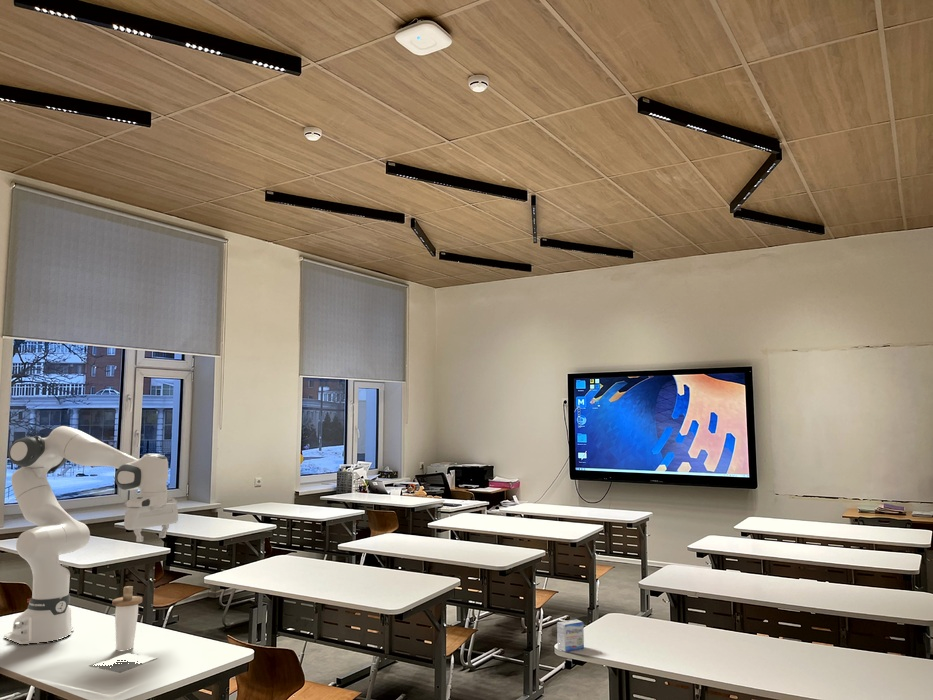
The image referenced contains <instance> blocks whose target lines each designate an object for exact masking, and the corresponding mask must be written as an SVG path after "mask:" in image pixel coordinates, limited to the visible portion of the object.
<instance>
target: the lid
mask: <svg viewBox="0 0 933 700" xmlns="http://www.w3.org/2000/svg"><path fill="white" fill-rule="evenodd" d="M133 589H134V586H132V585H128V586H124V587H123V593H122V596H121V597H117V598H114V599H112V603H111V605H112V606H114V607H116V606H117V607H124V606H133V605H137V604H138V605H139V604H141V603H143V597H142V596H139V595H138V596H137V595H133V591H134V590H133Z"/></svg>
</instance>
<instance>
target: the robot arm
mask: <svg viewBox="0 0 933 700" xmlns="http://www.w3.org/2000/svg"><path fill="white" fill-rule="evenodd" d="M8 458H9V460H10V462H11V463H12V464H13V465H16V466H19V468H18V469H17V470H15V471H14V472H13V474H12V475H11V481H10V482H11V486H12V491H13V494H14V497H15V499H16V501H17V504H18V506H19V509H20V511H21V514H22V515H23V518H24V520H26V521H27V522H29V523H31V524H34V525H36V527H34V528H30V529H27V530H25V531H23V532H22V533H20V535H18V537H17V539H16V543H15V544H16V545H15V547H16V551H17V554H18V555H19V556H20V557H21V558H22V559H24V560H25V561H26V562H27V563H28V565H29V568H30V569H31V572H32V573H31V574H32V595H31V598H27V602H26V603H28V605H27V609H26V610H24V611H23V612H22V613H21V614H20V615H18V616H17V617H16V618H15V619H14V620H13V625H12V631H10V632H8V633H6V634H4V635H3V638H4V637H6V638H8V639H11V640H13V641H15V642H17V643H19V644H28V645H30V644H29V643H37V644H40V643H39V642H47V643H49V642H48V641H52V640H57V639H59V638H62V637H65V636H67V635H69V634H70V633H71V634H72V632H71V630H72V629H73V628H74V626H73V627H72V609H71V607H70V606H69V605H70V603H71V602H70V601H71V593H69V592H70V577H71V573H70V570H69V569H68V568H66V567H65V566H62V565H61V563H60V559H59V556H60V555H65V554H69V553H70V554H71V553H73V552H76V551H79V550H81V549H82V548H85V547H86V546H87V545H88V543H89V541H90V537H91V532H90V529H89V527H88V526H87V525H86V524H85V523H84V522H82V521H79V520H77V519H76V518H73V516H71V515H70V514H69V513H67V511H66V510H65V509H64V508H63V507H62V506H61V505H60V503H59V501H58V500H57V497H56V495H55V493H54V492H53V489H52V487H51V485H50V483H49V481H48V476H47V474H53V473H56V471H57V470H58V469H59V468H61V467H62V466H64V464H66V462H67V461H69V462H71V463H72V464H75V465H79V466H83V467H109V468H114V469H116V471H115V474H114V475H115V476H114V478H115V479H114V480H115V481H114V482H115V484H116V485H117V487H118V488H119V489H120V490H125V491H134V490H135V491H136V490H139V494H138V495H137V496H135V497H132V498H130V499H129V500H127V501H126V507H128V508H126V510H125V512H124V521H123V522H124V524H123V525H124V528H125V530H128V531H133V533H134V535H135V537H136V540H135V541H136V542H137V543H141V542H144V536H143V535H142V533H141V532H142V529H147V528H151V527H152V528H153V527H160V526H161V531H160V532H158V538H159V539H164V538H166V535H167V532H168V530H169V528H170V525H172V524H176V523H178V520H179V514H178V513H179V510H178V500H176V498H174V497H168V486H167V484H168V483H167V482H168V481H169V461H168V458H167V457H166V456H165V455H163V454H160V453H153V452H152V453H149V452H148V453H145V454H144V455H142V456H141V458H140V457H139V458H138V457H136V456H134V455H131V454H129V453H126V452H124V451H122V450H120V449H117V448H115V447H113V446H112V445H109V444H107V443H105V442H103V441H101V440H99V439H98V438H96V437H94V436H92V435H90V434H88V433H86V432H84V431H83V430H80V429H77V428H75V427H70V426H66V425H61V426H58V427H56V428H54V429H52V430H51V432H50V433H49V434H48V436H45V437H41V436H40V435H35V436H27V437H21V438H18V439H16V440H15V441H13V443H12V444H11V445H10V447H9V449H8ZM57 641H58V640H57ZM17 643H16V644H17ZM19 644H18V645H19Z"/></svg>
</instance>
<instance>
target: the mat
mask: <svg viewBox="0 0 933 700" xmlns="http://www.w3.org/2000/svg"><path fill="white" fill-rule="evenodd" d="M117 661H120V660H117ZM121 661H123V660H121ZM124 661H126V660H124ZM137 662H138V661H137ZM96 663H97V662H96ZM96 663H92V664H89V665H88V667H92V668H97V667H99V668H97V669H102V670H105V669H106V670H105V671H111V672H115V673H123V672H126V671H128V670H131V669H135V668H136V667H139V666H142V665H143V664H142V663H140V664H138V663H136V664H135V662H128V661H127V662H116V663H117V664H115V663H114V664H113V666H112V665H110V666H109V665H108V666H106V665H105V666H103V665H102V666H100V665H99V666H98V665H97V666H95V665H94V664H96ZM118 663H120V664H118ZM121 663H122V664H121ZM128 663H129V664H128ZM103 664H104V663H103ZM93 665H94V666H93ZM110 667H111V668H110Z"/></svg>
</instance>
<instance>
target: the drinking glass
mask: <svg viewBox="0 0 933 700" xmlns="http://www.w3.org/2000/svg"><path fill="white" fill-rule="evenodd" d="M114 615H115V616H114V618H115V619H114V621H115V623H114V624H115V651H116V650H127V649H130V648H133V649H134V646H135V637H136V630H137V622H138V617H139V616H138V615H139V604H137V605H133V606H124V607H117V606H115V613H114Z"/></svg>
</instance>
